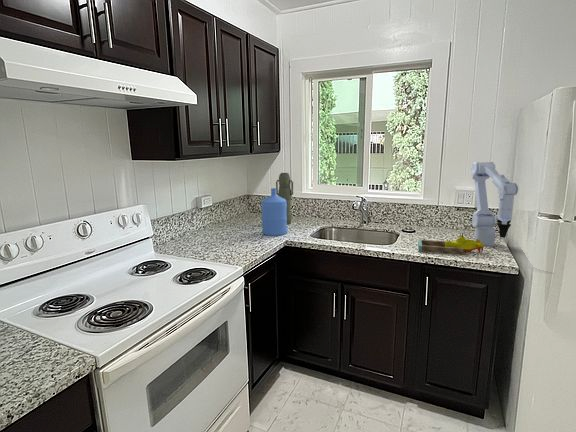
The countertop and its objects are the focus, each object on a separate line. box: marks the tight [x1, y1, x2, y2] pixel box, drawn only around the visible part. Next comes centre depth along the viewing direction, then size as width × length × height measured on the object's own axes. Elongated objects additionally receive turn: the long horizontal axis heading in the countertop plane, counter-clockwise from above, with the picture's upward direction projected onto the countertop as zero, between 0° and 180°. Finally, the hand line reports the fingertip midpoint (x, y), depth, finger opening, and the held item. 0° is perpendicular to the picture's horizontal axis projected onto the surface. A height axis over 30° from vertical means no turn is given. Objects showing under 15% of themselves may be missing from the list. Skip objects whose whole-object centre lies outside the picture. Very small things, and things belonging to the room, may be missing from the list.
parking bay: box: [417, 239, 464, 256], centre depth 182 cm, size 20×12×3 cm, turn 71°
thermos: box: [275, 172, 294, 226], centre depth 242 cm, size 9×12×35 cm
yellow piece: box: [444, 232, 485, 253], centre depth 177 cm, size 6×18×10 cm, turn 78°
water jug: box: [260, 188, 288, 237], centre depth 218 cm, size 16×16×28 cm
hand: (502, 235), depth 171 cm, fingers open, 6 cm apart
